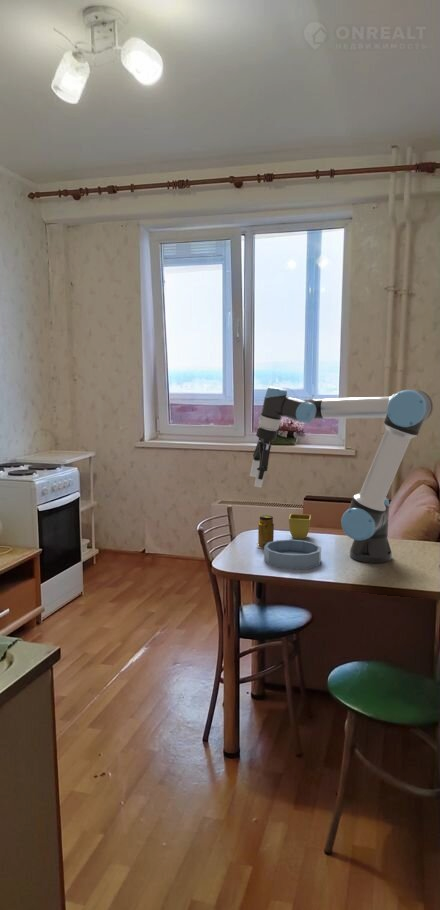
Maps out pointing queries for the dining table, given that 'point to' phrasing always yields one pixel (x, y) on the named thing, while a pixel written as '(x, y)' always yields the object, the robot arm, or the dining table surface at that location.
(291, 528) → the flower pot
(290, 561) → the bowl
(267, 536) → the condiment
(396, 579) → the dining table surface
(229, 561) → the dining table surface
